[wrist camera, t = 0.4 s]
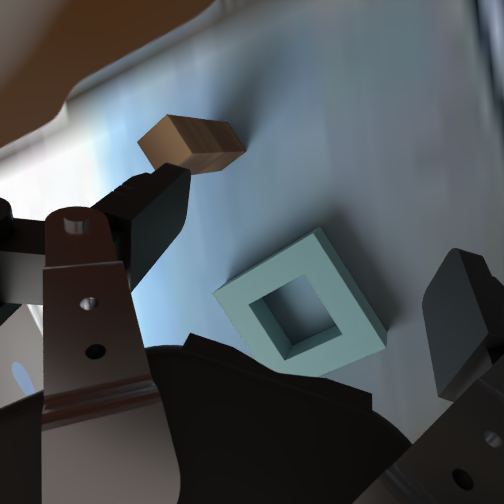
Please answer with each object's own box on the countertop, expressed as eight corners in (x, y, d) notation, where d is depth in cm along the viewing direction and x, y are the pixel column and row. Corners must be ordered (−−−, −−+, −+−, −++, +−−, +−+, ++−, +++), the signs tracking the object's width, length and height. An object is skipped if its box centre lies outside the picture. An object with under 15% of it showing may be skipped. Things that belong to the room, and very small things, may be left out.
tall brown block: (227, 122, 34) (167, 114, 25) (246, 151, 35) (192, 153, 25) (203, 142, 36) (136, 141, 27) (221, 170, 36) (161, 179, 27)
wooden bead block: (319, 226, 34) (313, 233, 31) (387, 332, 34) (386, 348, 32) (225, 282, 39) (212, 293, 36) (285, 375, 39) (277, 393, 36)
